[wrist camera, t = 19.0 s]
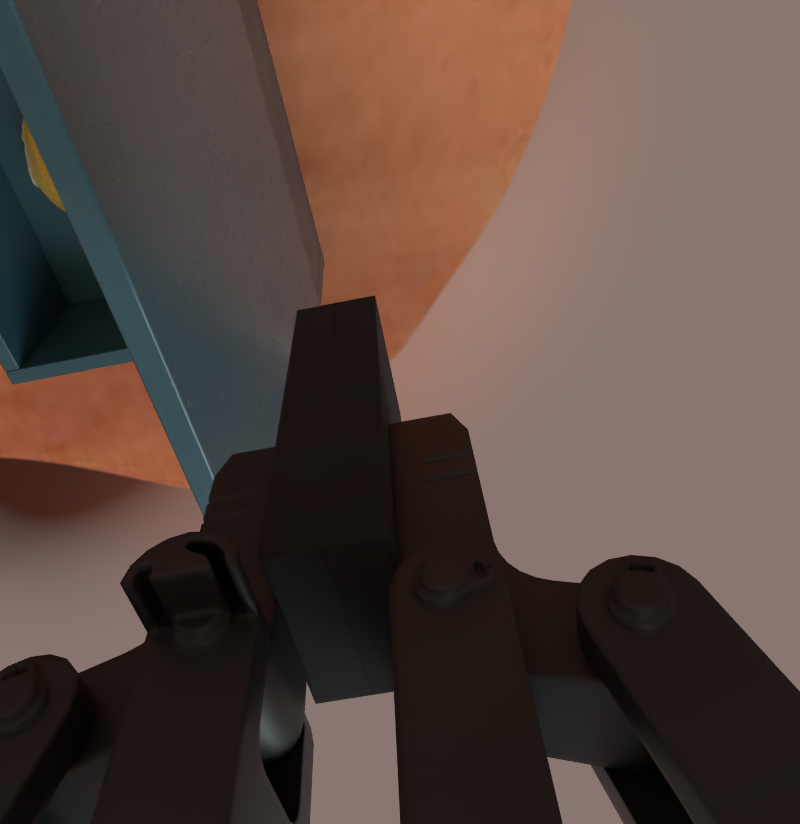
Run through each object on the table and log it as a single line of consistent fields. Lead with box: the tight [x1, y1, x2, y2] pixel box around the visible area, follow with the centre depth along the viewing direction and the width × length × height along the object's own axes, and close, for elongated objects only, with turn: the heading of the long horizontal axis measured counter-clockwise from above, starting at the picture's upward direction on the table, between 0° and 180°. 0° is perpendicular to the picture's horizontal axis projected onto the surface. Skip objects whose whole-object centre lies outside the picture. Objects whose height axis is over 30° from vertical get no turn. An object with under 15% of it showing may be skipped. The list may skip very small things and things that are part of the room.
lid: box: [0, 0, 320, 516], centre depth 24 cm, size 18×19×1 cm
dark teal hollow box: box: [0, 0, 324, 384], centre depth 36 cm, size 17×19×9 cm
